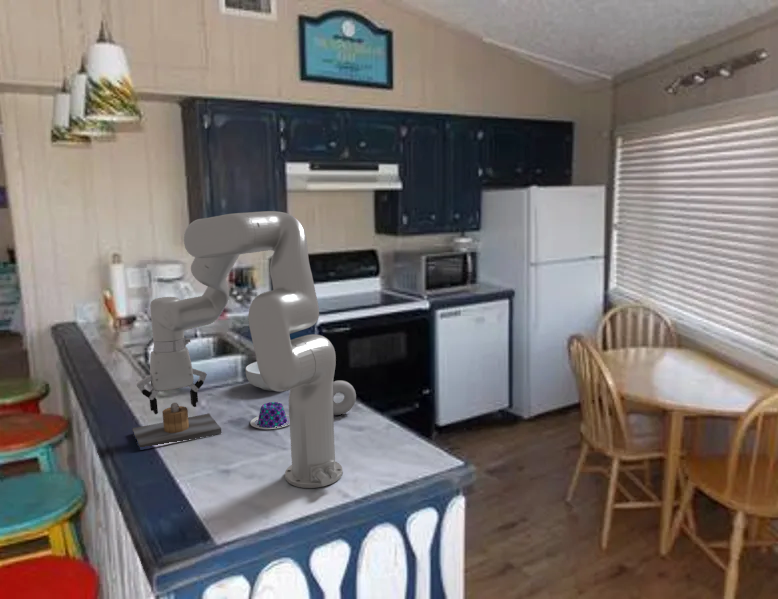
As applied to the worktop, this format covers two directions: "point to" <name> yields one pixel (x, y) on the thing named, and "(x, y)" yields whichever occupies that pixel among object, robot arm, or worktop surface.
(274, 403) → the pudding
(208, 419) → the needle stand
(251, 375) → the cereal bowl
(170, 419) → the bead
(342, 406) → the donut
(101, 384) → the worktop surface
